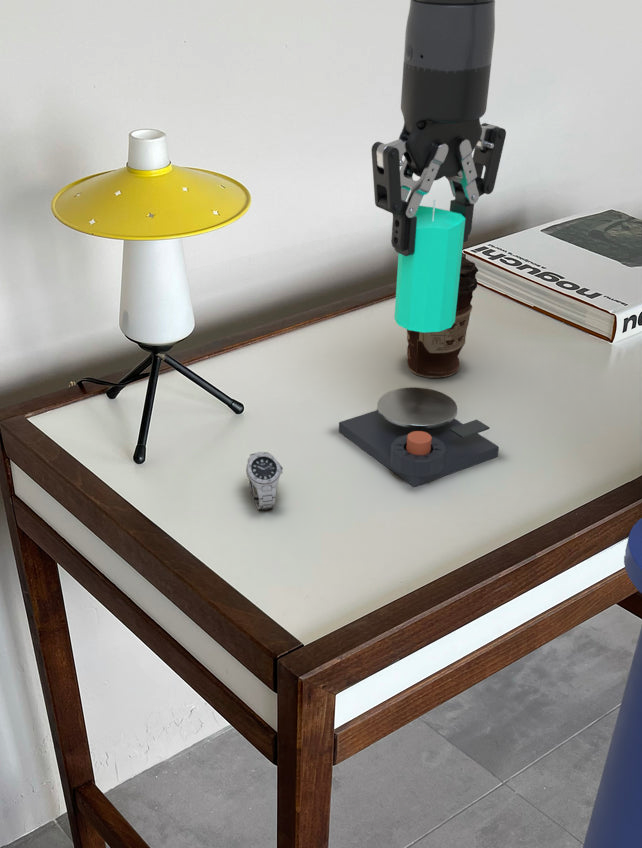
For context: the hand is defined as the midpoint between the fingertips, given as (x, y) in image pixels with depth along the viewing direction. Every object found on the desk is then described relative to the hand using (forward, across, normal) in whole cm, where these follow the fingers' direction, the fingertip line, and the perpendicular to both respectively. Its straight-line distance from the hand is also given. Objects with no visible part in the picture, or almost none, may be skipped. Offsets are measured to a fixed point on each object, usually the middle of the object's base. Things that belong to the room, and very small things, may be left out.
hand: (431, 246), depth 97 cm
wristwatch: (+21, -20, -2) cm, 29 cm away
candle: (+8, 0, 0) cm, 8 cm away
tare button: (+18, -5, -6) cm, 20 cm away
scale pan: (+18, 0, -1) cm, 18 cm away
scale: (+21, -1, -2) cm, 21 cm away
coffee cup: (+21, +12, +11) cm, 27 cm away
